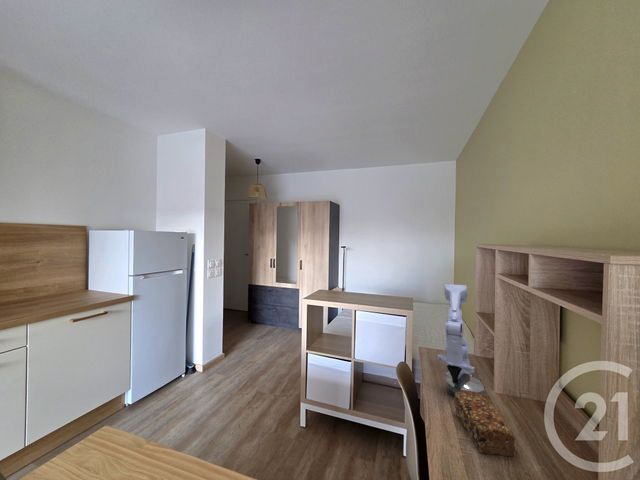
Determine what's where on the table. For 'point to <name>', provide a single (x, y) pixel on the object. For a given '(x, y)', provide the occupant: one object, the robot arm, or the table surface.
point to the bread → (484, 424)
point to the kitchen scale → (455, 390)
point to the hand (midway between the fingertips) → (455, 382)
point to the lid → (466, 383)
